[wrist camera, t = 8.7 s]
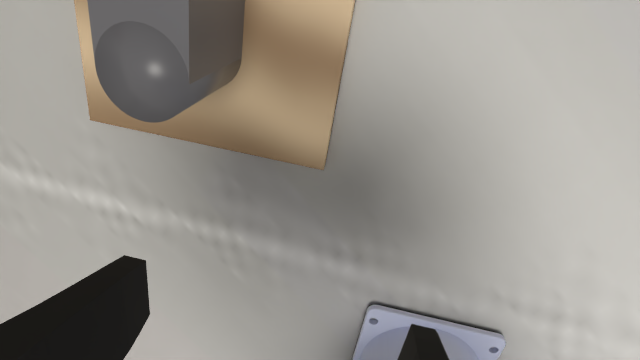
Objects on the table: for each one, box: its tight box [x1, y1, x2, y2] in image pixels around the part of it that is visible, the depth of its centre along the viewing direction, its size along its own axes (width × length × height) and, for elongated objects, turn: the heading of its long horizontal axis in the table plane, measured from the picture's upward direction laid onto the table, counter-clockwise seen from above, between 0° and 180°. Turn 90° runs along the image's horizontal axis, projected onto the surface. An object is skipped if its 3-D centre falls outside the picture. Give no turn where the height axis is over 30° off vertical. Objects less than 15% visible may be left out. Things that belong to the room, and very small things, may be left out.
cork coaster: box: [74, 0, 355, 170], centre depth 16 cm, size 12×12×1 cm
